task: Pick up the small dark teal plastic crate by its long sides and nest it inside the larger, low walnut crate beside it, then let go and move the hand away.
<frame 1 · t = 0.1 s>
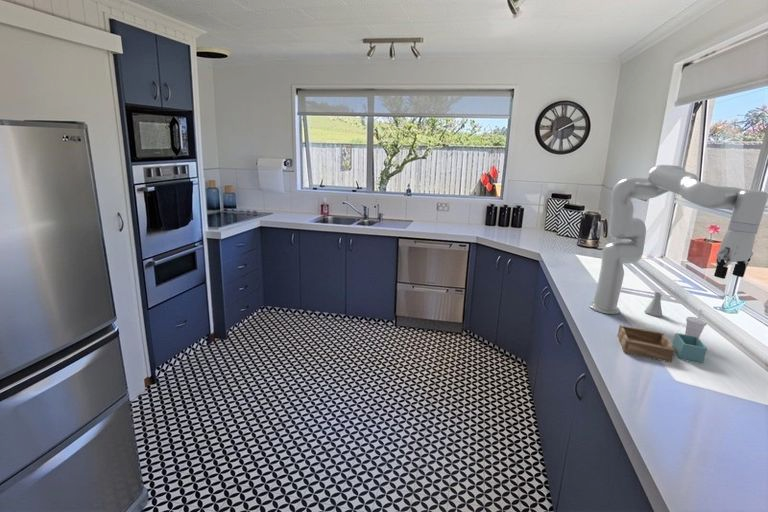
hand: (728, 276, 143), 31 cm above the worktop, tool pointing down, fingers open, 9 cm apart
big crate: (642, 348, 155), on the worktop
smoothie: (689, 343, 163), on the worktop
small crate: (686, 355, 152), on the worktop
flask: (652, 314, 190), on the worktop
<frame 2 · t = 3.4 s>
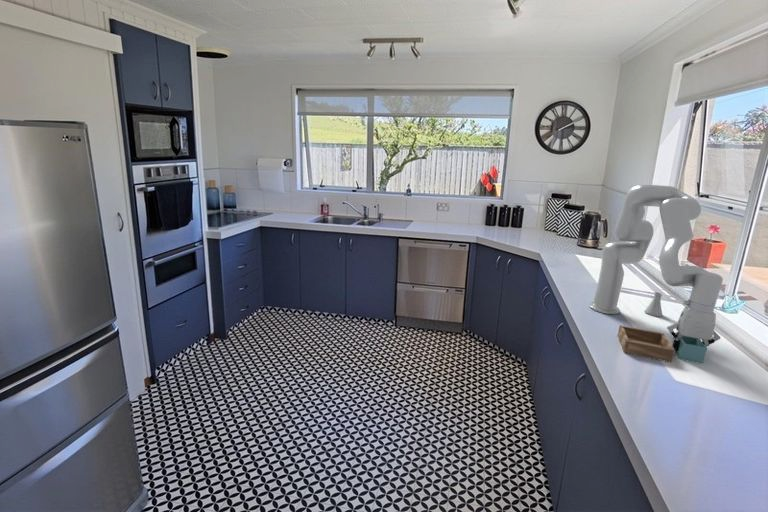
hand: (687, 351, 152), 1 cm above the worktop, tool pointing down, fingers closed on small crate, 7 cm apart
small crate: (686, 355, 152), on the worktop, touching gripper
everything else where it was.
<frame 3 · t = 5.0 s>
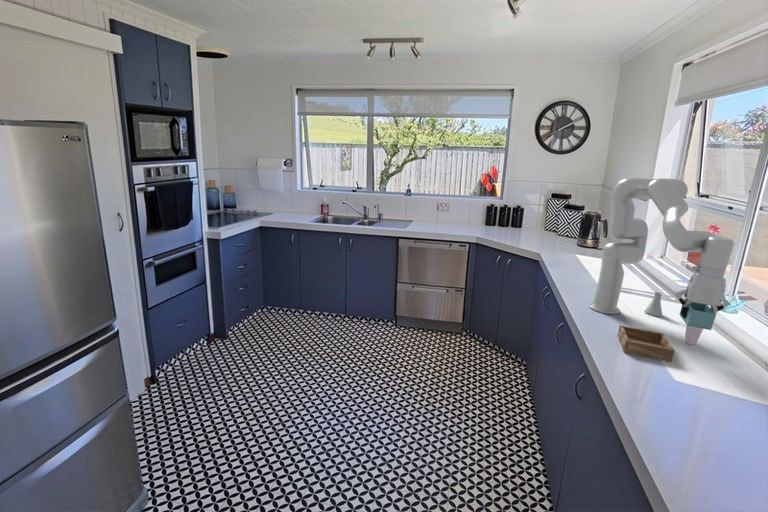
hand: (695, 318, 149), 14 cm above the worktop, tool pointing down, fingers closed on small crate, 7 cm apart
small crate: (694, 322, 149), point 13 cm above the worktop, touching gripper
everything else where it was.
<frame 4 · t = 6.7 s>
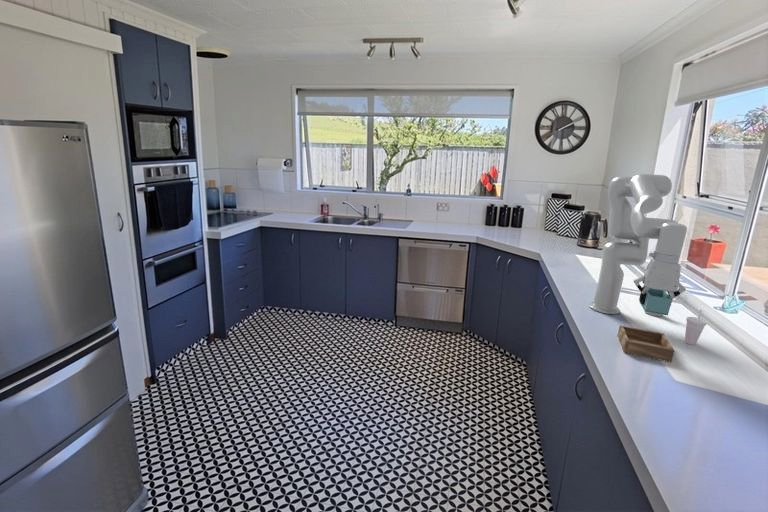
hand: (654, 305, 151), 17 cm above the worktop, tool pointing down, fingers closed on small crate, 7 cm apart
small crate: (653, 308, 151), point 16 cm above the worktop, touching gripper
everything else where it was.
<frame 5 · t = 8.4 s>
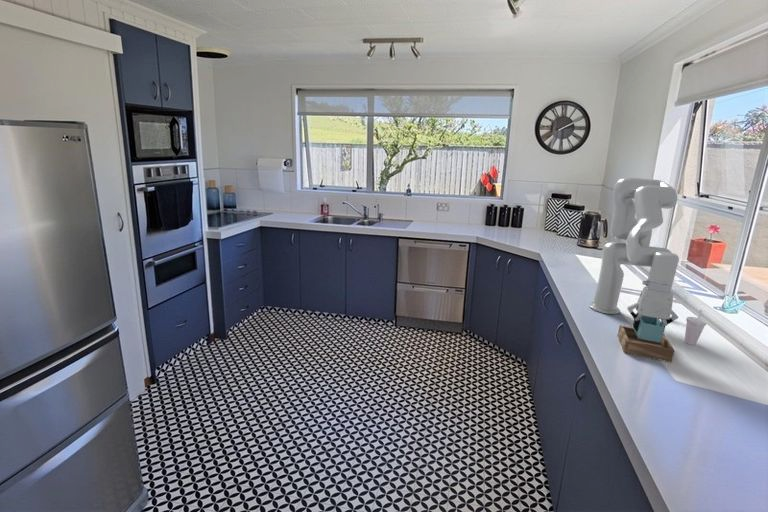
hand: (647, 331, 153), 7 cm above the worktop, tool pointing down, fingers closed on small crate, 7 cm apart
small crate: (646, 335, 154), point 5 cm above the worktop, touching gripper
everything else where it was.
when the fingers open (4 cm above the worktop, at t = 10.0 s): small crate drops 2 cm, resting on big crate.
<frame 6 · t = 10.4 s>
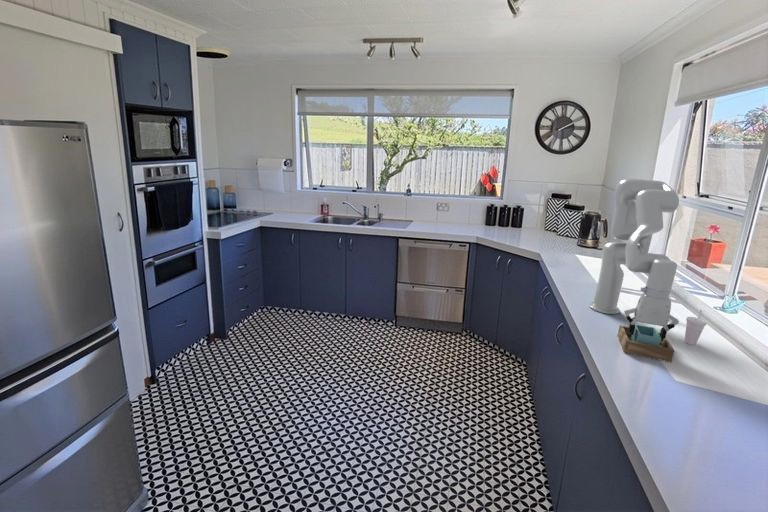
hand: (645, 336, 154), 5 cm above the worktop, tool pointing down, fingers open, 9 cm apart
small crate: (643, 345, 155), point 1 cm above the worktop, touching big crate
everything else where it was.
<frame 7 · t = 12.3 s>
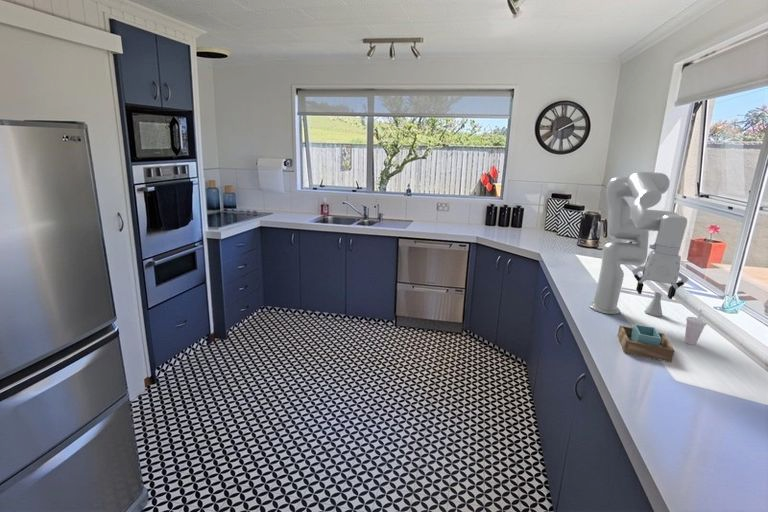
hand: (654, 295, 151), 21 cm above the worktop, tool pointing down, fingers open, 9 cm apart
nothing on the worktop moved.
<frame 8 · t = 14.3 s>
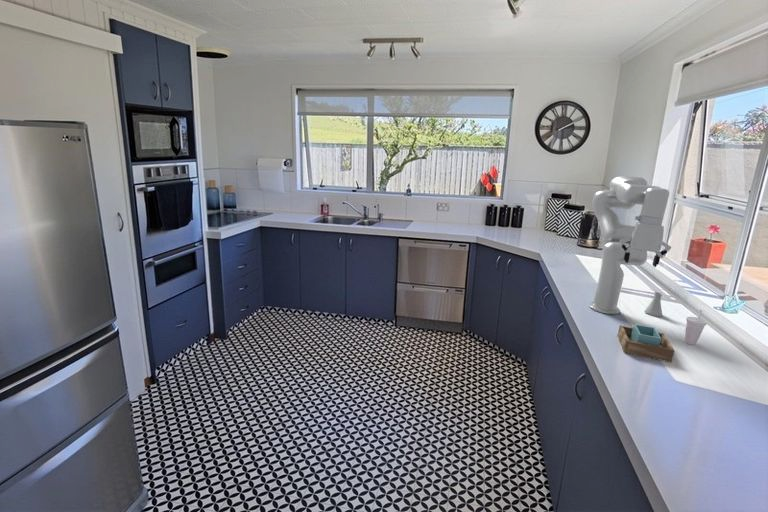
hand: (640, 263, 163), 28 cm above the worktop, tool pointing down, fingers open, 9 cm apart
nothing on the worktop moved.
at the end: small crate 0.0 cm off-centre on the big crate, point 1.0 cm above the big crate's base; small crate tilted 0°; the gripper is holding nothing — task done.
